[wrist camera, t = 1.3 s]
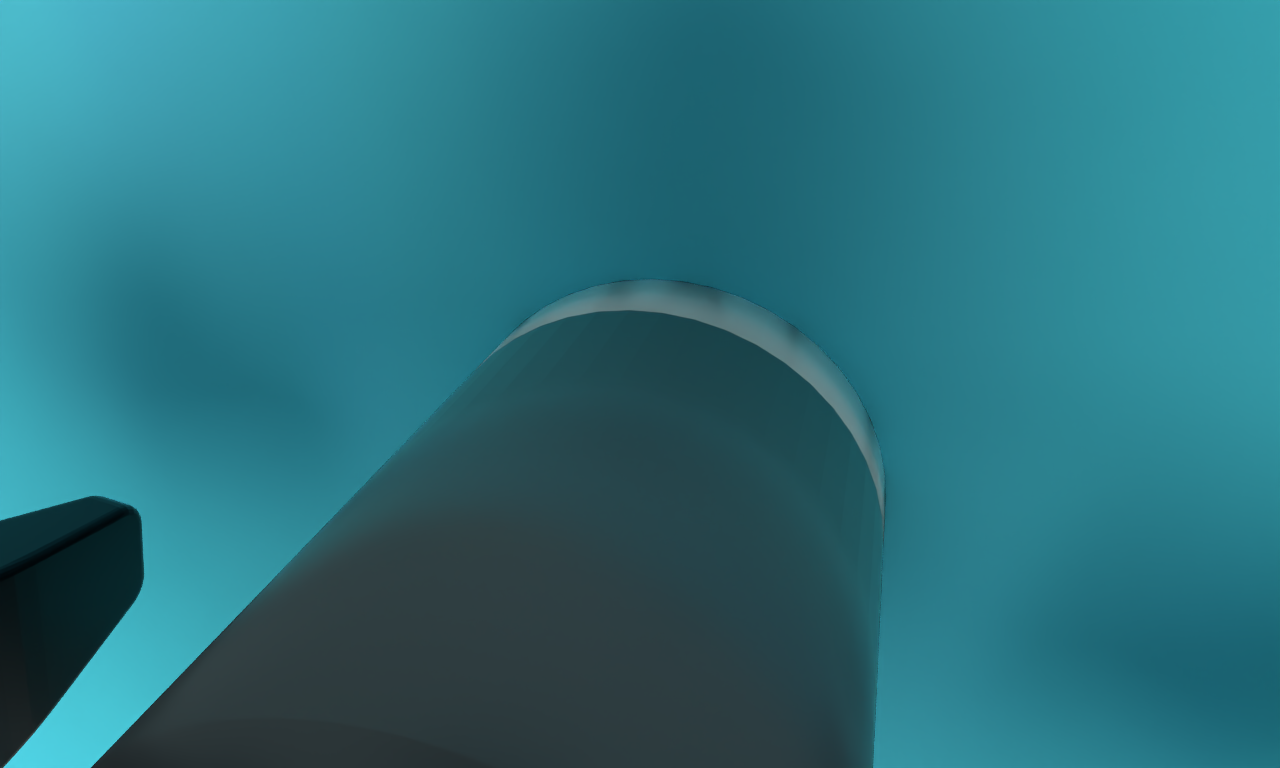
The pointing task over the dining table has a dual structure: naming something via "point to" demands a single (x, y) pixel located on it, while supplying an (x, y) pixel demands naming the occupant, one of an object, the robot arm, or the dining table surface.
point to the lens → (577, 568)
